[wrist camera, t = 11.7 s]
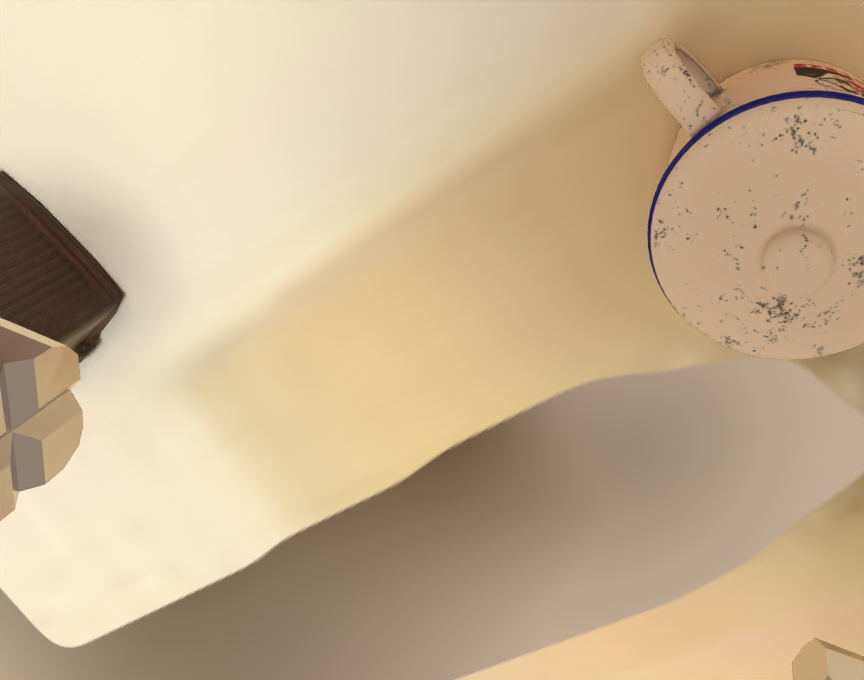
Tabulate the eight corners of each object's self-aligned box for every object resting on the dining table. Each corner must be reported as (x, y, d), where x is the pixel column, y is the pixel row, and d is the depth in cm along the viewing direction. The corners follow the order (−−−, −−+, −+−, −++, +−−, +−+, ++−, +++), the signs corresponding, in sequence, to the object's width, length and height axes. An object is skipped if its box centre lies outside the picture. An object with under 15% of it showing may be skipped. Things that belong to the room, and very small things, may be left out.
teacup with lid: (954, 176, 31) (1055, 294, 22) (752, 306, 36) (761, 450, 26) (759, -62, 30) (773, -51, 20) (576, 107, 35) (516, 182, 25)
